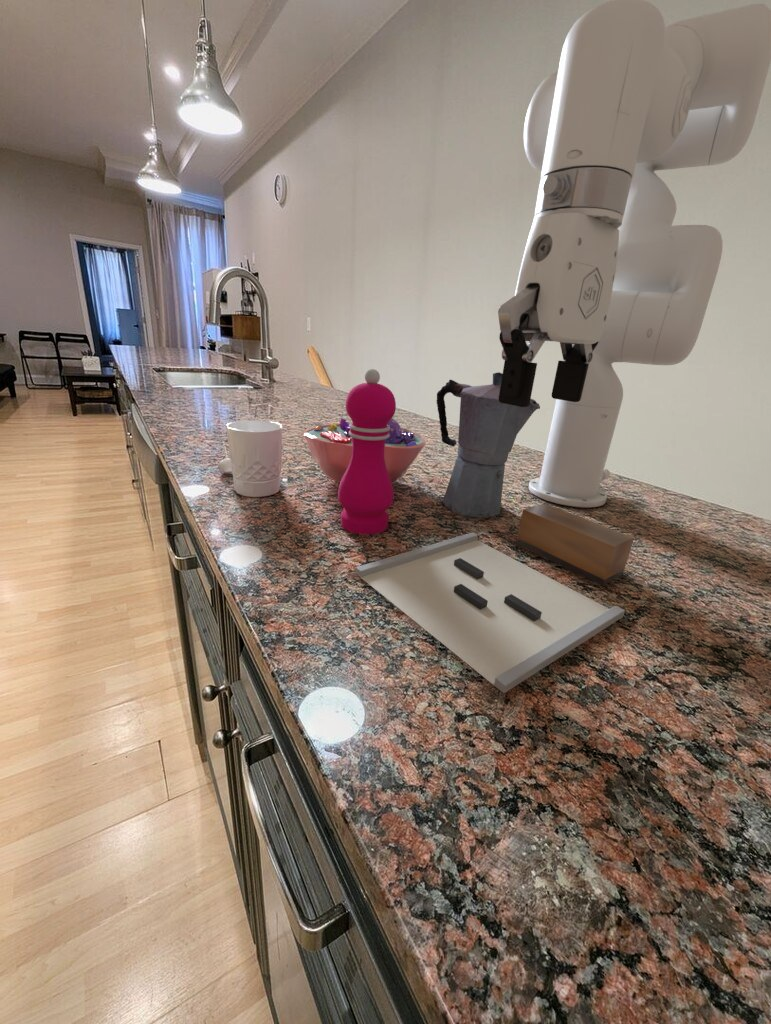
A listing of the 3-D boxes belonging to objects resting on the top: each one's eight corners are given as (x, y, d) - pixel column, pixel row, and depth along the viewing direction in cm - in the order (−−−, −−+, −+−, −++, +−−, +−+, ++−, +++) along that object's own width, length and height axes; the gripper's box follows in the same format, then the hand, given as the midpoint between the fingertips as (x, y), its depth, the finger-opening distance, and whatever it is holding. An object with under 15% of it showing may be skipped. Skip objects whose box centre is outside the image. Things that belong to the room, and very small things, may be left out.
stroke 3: (503, 602, 44) (504, 596, 44) (510, 599, 45) (511, 593, 44) (534, 621, 41) (535, 615, 41) (540, 618, 42) (542, 612, 42)
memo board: (471, 538, 58) (472, 532, 57) (622, 618, 43) (625, 610, 43) (355, 575, 47) (355, 567, 47) (503, 696, 33) (505, 685, 33)
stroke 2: (453, 592, 45) (454, 586, 45) (460, 589, 46) (461, 583, 45) (480, 610, 43) (481, 603, 42) (487, 606, 43) (488, 600, 43)
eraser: (536, 537, 60) (544, 503, 58) (622, 576, 51) (634, 537, 49) (515, 545, 57) (522, 509, 55) (601, 587, 49) (613, 546, 47)
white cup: (237, 480, 72) (233, 418, 68) (286, 482, 73) (285, 421, 69) (225, 498, 65) (220, 430, 61) (280, 499, 66) (278, 432, 62)
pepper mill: (385, 541, 55) (397, 374, 48) (329, 533, 57) (333, 368, 49) (395, 519, 62) (408, 369, 54) (345, 512, 63) (351, 364, 56)
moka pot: (507, 531, 61) (536, 379, 53) (409, 503, 68) (422, 366, 60) (527, 511, 68) (555, 375, 61) (437, 487, 76) (451, 364, 68)
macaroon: (247, 470, 77) (246, 456, 76) (240, 479, 73) (239, 464, 72) (222, 469, 77) (221, 455, 76) (213, 478, 73) (212, 463, 72)
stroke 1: (453, 565, 50) (454, 559, 50) (459, 563, 51) (460, 557, 51) (477, 579, 48) (478, 574, 48) (483, 577, 48) (484, 571, 48)
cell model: (319, 462, 85) (320, 402, 80) (424, 473, 83) (431, 412, 78) (289, 491, 69) (288, 418, 65) (417, 506, 67) (425, 432, 63)
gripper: (569, 172, 32) (524, 414, 38) (661, 221, 42) (614, 404, 49) (485, 189, 37) (458, 400, 43) (586, 229, 47) (552, 393, 54)
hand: (540, 402), depth 46 cm, fingers open, 9 cm apart
